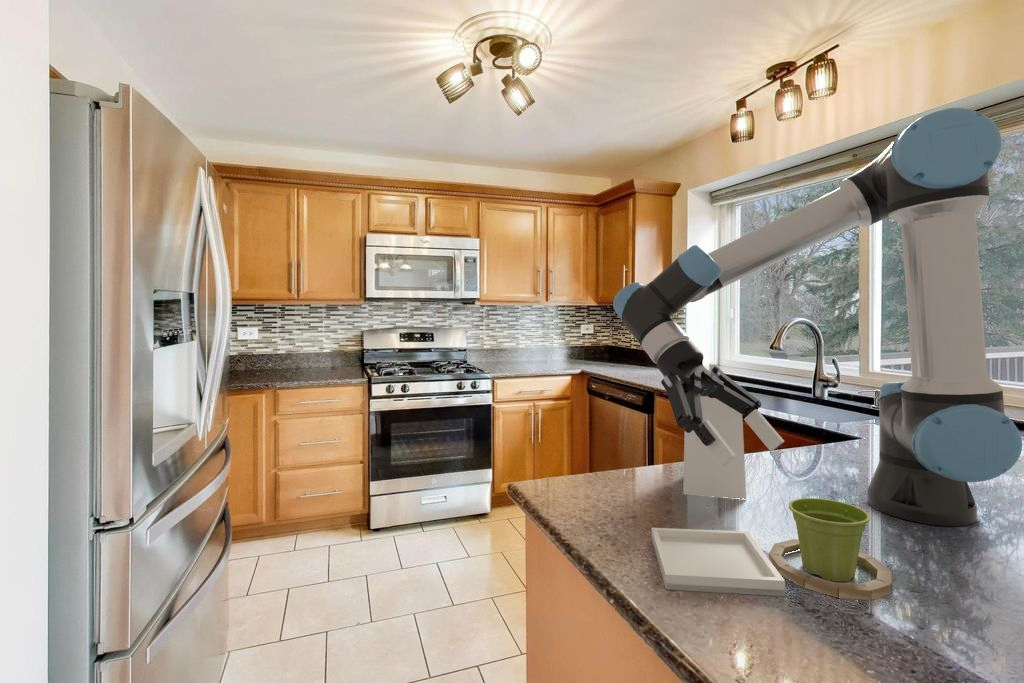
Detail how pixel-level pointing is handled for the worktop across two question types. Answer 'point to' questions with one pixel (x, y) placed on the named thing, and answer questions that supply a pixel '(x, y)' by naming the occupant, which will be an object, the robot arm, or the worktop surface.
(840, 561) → the plant pot
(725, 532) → the grey tray
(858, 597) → the oak ring
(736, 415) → the milk
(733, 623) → the worktop surface
